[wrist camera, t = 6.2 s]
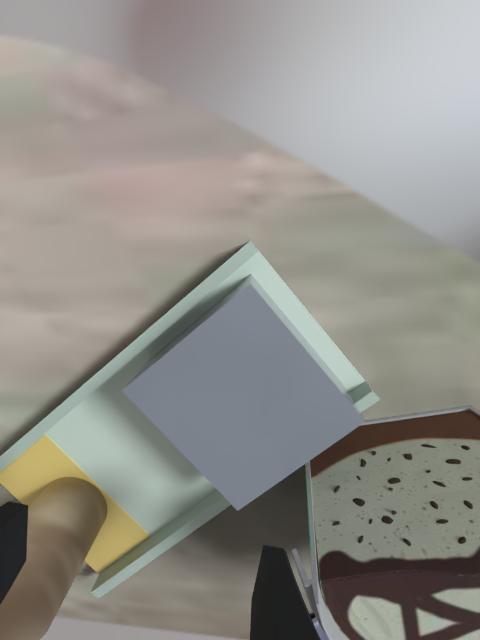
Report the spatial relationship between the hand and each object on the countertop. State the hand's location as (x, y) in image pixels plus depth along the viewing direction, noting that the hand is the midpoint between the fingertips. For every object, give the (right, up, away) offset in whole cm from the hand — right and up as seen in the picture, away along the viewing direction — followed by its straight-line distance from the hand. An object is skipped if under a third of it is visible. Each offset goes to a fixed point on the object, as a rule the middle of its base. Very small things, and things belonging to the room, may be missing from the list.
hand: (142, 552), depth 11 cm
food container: (+12, -1, +10) cm, 16 cm away
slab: (+3, +4, +8) cm, 10 cm away
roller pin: (-7, -4, +10) cm, 13 cm away
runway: (-1, +1, +10) cm, 10 cm away
